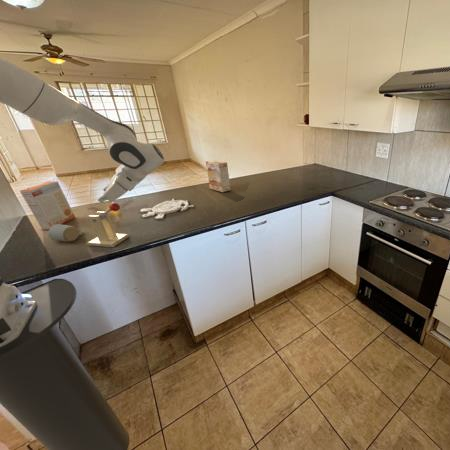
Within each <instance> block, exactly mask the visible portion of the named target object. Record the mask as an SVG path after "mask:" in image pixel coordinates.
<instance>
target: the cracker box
mask: <svg viewBox="0 0 450 450" xmlns="http://www.w3.org/2000/svg"><path fill="white" fill-rule="evenodd" d="M19 192H20V195H21V196H22V197H23V199H24V201H25V203H26V204H27V206H28V208H29V210H30V211H31V213H32V215H33V216H34V218H35V220H36V222H37V223H38V225H39V226H40V228H41V230H49V229H50V228H51V227H52V226H53V225H56V224H62V225H65V224H66V223H68V222H71V221H72V220H74V219H76V215H75V214H74V212H73V210H72V207H71V206H70V205H71V204H70V203H69V201H68V200H67V197H66V196H65V193H64V191H63V190H62V187H61V185H60V183H59V182H58V181H56V180H55V181H49V180H48V181H44V182H42V183H38V184H35V185H33V186H29V187H27V188H24V189H23V188H22V189H20V190H19Z"/></svg>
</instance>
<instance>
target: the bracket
mask: <svg viewBox="0 0 450 450" xmlns="http://www.w3.org/2000/svg"><path fill="white" fill-rule="evenodd" d="M104 212H105V211H99V210H98V211H96V215H94V214H90V215H88V219H89V222H90V223H91V225H92V227H93V230H94V232H95V234H96V237H94V238H93V239H91V240H90V241H88V242H87V244H88V246H92V247H105V248H106V247H107V248H114V247H116V246H117V245H119V244H120V243H122V242H124V241H125V240H126V239H128V238H129V234H127V233H116V229H115V227H114V225H113V223H112V220H111V218H110V215H109V213H108V214H106V215H105V218H104V219H102V220H101V218H100V216H97V215H98V214H100V213H102V214H103V213H104Z"/></svg>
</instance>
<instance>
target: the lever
mask: <svg viewBox="0 0 450 450" xmlns="http://www.w3.org/2000/svg"><path fill="white" fill-rule="evenodd" d="M108 208H109V209H107V210H106V211H103V212H104V213H103V214H102V213H100V214H98V215H97V214H96V215H97V216H100V218H101V220H102V219H104V218H105V215H106V214H108V215H109V214H110V213H111V212H118V211H119V210H120V208H121V205H120V204H119V203H117V202H112V203H110V204H109V207H108Z"/></svg>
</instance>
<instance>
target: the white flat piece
mask: <svg viewBox="0 0 450 450" xmlns="http://www.w3.org/2000/svg"><path fill="white" fill-rule="evenodd" d="M188 208H195V206H194V204H192V205H190V204H189V200H182V199H175V198H172V199H171V200H165V201H162V202H160V203H158V204H156V205H154V206H153V207H152V208H151V207H148V208H147V207H146V208H141V209H140V213H144V214H142V215H141V216H142V218H148V217H153V216H155V215H156V216H155V217H154V219H155V220H162V219H164V217H165V215H167V214H168V215H169V214H172V213H176V212H178V211H180V212H183V211H186V210H188ZM146 212H147V213H146Z"/></svg>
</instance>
